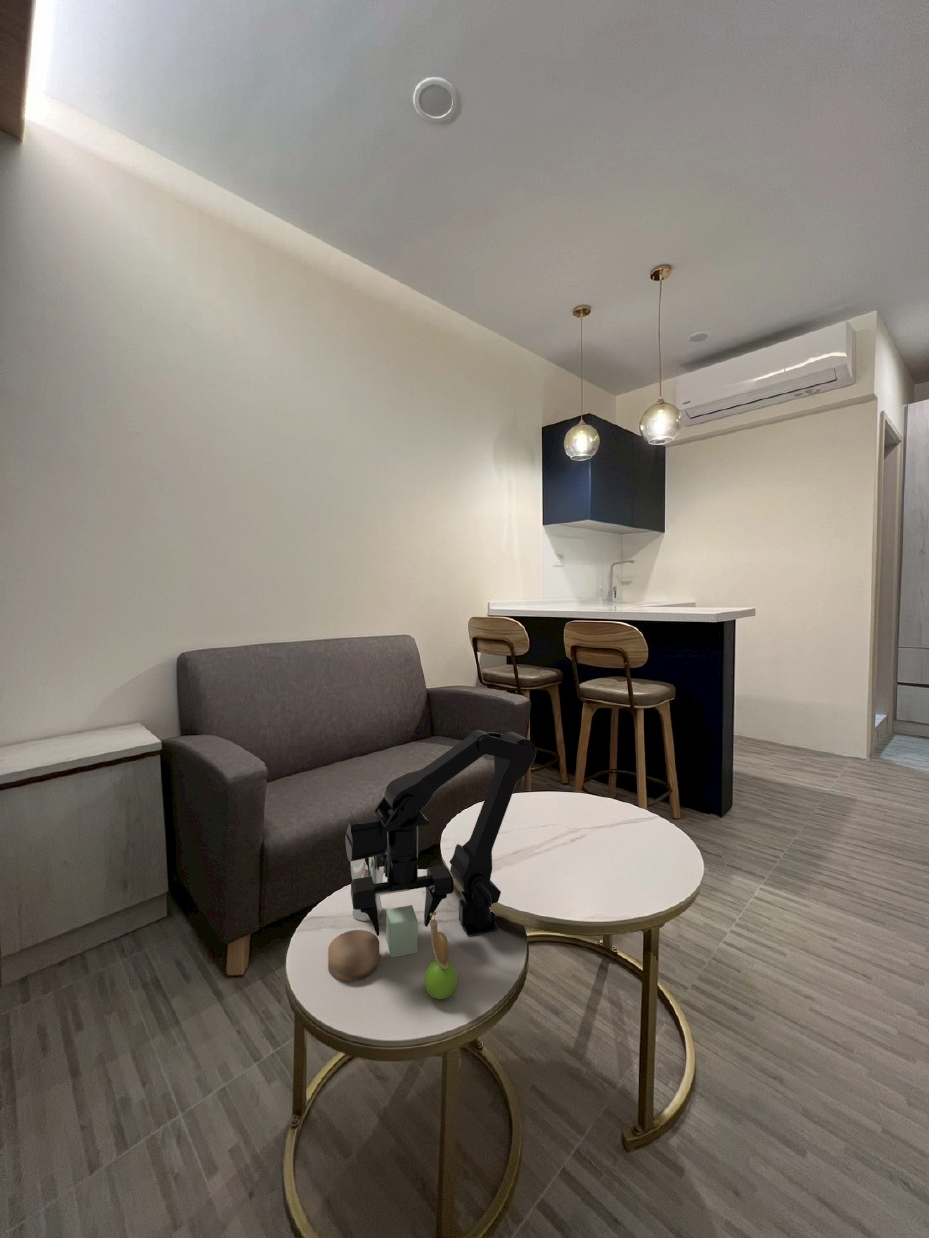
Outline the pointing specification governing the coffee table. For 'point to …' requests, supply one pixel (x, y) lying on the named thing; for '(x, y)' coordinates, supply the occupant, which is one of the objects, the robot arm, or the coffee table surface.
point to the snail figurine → (440, 966)
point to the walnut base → (353, 955)
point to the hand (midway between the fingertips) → (402, 929)
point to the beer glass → (366, 870)
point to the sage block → (401, 931)
